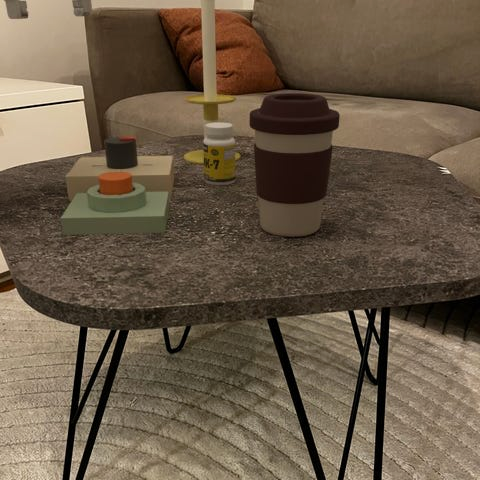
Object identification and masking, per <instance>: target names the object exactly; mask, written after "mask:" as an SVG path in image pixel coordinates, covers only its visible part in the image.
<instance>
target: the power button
mask: <svg viewBox="0 0 480 480" xmlns="http://www.w3.org/2000/svg"><path fill="white" fill-rule="evenodd" d="M98 180H99V188H100V194H105V195H122V194H127V193H130V192H133V184H132V175H131V174H130V173H127V172H107V173H103V174H101V175H99V176H98Z"/></svg>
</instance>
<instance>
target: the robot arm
mask: <svg viewBox="0 0 480 480" xmlns="http://www.w3.org/2000/svg"><path fill="white" fill-rule="evenodd" d="M71 1H72V7H73V15H74V16H75V17H92V16H93V6H92V5H93V4H92V0H71ZM3 2H5V8H6V13H7V14H6V15H7V17H8V18H9V19H10V20H24V19H28V18H29V11H28V10H27V9H28V4H27V0H3Z"/></svg>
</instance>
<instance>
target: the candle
mask: <svg viewBox="0 0 480 480" xmlns="http://www.w3.org/2000/svg"><path fill="white" fill-rule="evenodd" d="M215 1H216V0H200V11H201V12H200V13H201V14H200V15H201V41H202V42H201V43H202V44H201V45H202V71H203V72H202V73H203V74H202V75H203V76H202V77H203V94H194V95H189V96H187V97H185V98H184V99H185V102H186V103H189V104H192V105H203V106H202V108H203V109H202V110H203V131H204V132H203V136H204V137H203V138H204V139H205V138H206V137H207V136H206V135H205V134H206V133H205V125H206V124H209V123H219V105H225V104H231V103H234V102H235V101H237V98H236V96H233V95H230V94H218V93H217V89H218V88H217V51H216V50H217V47H216V45H217V44H216V6H215V4H216V3H215ZM204 139H203V140H204ZM183 159H184V161H186V162H189V163H192V164H193V163H194V164H198V165H204V154H203V149H196V150H191V151H188V152H187V153H185V154H183ZM240 159H241V154H240V153H239V152H237V151H235V162H236V161H239V160H240Z"/></svg>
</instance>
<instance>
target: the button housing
mask: <svg viewBox="0 0 480 480" xmlns="http://www.w3.org/2000/svg"><path fill="white" fill-rule="evenodd" d="M132 184H133V192H130V193H127V194H122V195H105V194H100V188H99V185H96V186H94V187H91V188H89V190H88V191H87V193H77V194H76V195H75V197H74V198H73V200H72V201H70V203H69V205H68V206H67V207H66V209H65V210H64V211H63V214H62V215H61V216H60V223H61V231H62V235H63V236H80V235H81V236H83V235H86V236H87V235H123V234H124V235H125V234H127V235H128V234H165V233H166V231H167V226H168V225H167V224H168V220H169V214H170V209H171V208H170V206H171V205H170V199H169V192H168V191H166V192H146V189H145V187H144V186H142V185H140V184H138V183H132Z"/></svg>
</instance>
